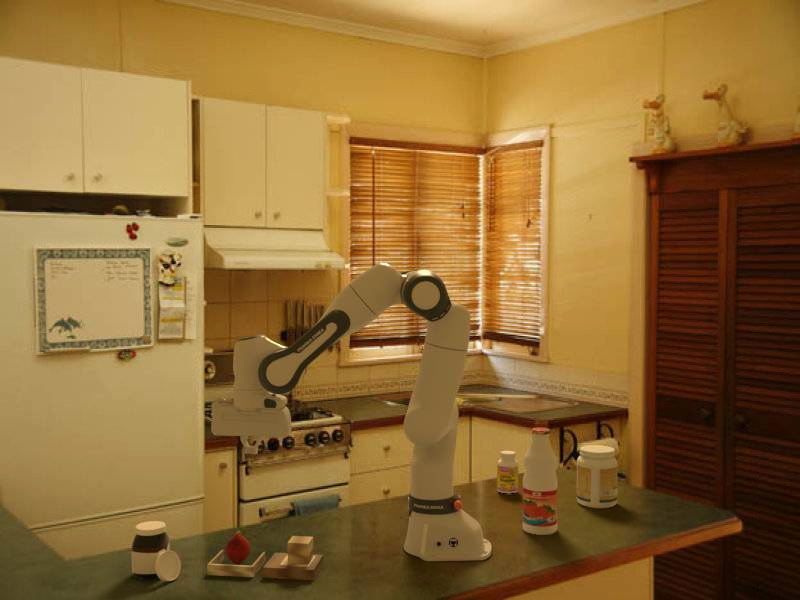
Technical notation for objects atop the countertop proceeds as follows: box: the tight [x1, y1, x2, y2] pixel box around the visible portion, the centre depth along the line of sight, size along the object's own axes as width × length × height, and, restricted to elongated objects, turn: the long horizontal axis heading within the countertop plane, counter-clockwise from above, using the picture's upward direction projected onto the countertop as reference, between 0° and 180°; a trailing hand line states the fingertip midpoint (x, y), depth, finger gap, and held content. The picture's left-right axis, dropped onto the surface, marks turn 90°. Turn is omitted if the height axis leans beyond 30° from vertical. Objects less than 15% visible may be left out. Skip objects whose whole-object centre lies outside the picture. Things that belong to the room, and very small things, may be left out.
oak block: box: [287, 535, 314, 565], centre depth 201 cm, size 5×5×5 cm
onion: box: [225, 531, 251, 565], centre depth 206 cm, size 6×6×8 cm
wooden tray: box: [206, 549, 324, 582], centre depth 202 cm, size 26×10×3 cm, turn 82°
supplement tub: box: [576, 444, 619, 509], centre depth 257 cm, size 12×12×17 cm
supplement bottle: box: [496, 450, 519, 494], centre depth 270 cm, size 7×7×13 cm
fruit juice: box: [522, 427, 559, 536], centre depth 232 cm, size 9×9×28 cm
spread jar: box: [131, 520, 182, 582], centre depth 198 cm, size 12×11×12 cm
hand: (251, 453), depth 214 cm, fingers closed
